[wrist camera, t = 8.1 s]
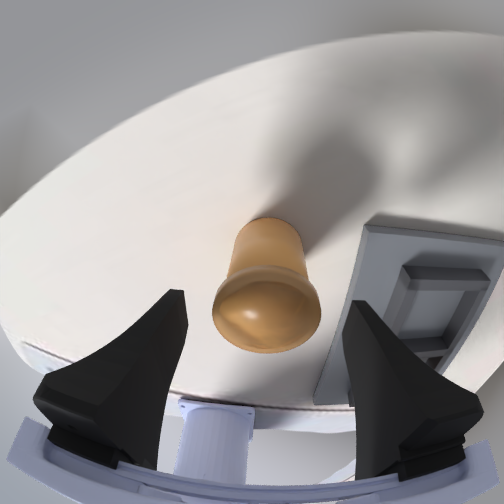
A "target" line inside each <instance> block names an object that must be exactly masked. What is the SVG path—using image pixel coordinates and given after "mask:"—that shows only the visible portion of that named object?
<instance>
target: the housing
mask: <svg viewBox="0 0 504 504" xmlns="http://www.w3.org/2000/svg"><path fill="white" fill-rule="evenodd" d="M503 268H504V241H498V240H491V239H484V238H477V237H469V236H462V235H454V234H446V233H437V232H429V231H420V230H411V229H401V228H392V227H381V226H371V225H364V227H363V232H362V236H361V241H360V245H359V249H358V254H357V258H356V262H355V266H354V270H353V274H352V278H351V282H350V285H349V289H348V293H347V296H346V300H345V303H344V307H343V310H342V314H341V317H340V320H339V324H338V327H337V330H336V333H335V336H334V339H333V342H332V346H331V349H330V352H329V354H328V357H327V360H326V363H325V366H324V369H323V372H322V374H321V377H320V380H319V383H318V385H317V388H316V390H315V393H314V396H313V402H314V405H335V404H349V406H350V407H355V404H354V398H353V392H352V388H351V383H350V379H349V374H348V370H347V366H346V361H345V357H344V352H343V343H342V331H343V328H344V325H345V322H346V318H347V315H348V312H349V309H350V306H351V302H352V300H365V301H366V302H367V303H368V304H369V305H370V306H371V307H372V308H373V310H374V311H375V312H376V313H377V314H378V315H379V317H380V318H381V319H382V320H383V321H384V322H385V324H386V325H387V326H388V327H389V328H390V329H391V330H392V332H393V333H394V334H395V335H396V336H397V337H398V338H399V339H400V340H401V341H402V342H403V343H404V344H405V345H406V346H407V347H408V348H409V349H410V350H411V351H412V352H413V353H414V354H415V355H416V356H418V357H419V358H420V359H421V360H422V361H423V362H425V363H426V364H427V365H428V366H430V367H431V368H432V369H434V370H435V371H436V372H438V373H439V374H441V375H442V374H443V373H444V372H445V370H446V369H447V367H448V366H449V365H450V363H451V362H452V360H453V359H454V357H455V356H456V354H457V353H458V351H459V350H460V348H461V347H462V345H463V344H464V342H465V340H466V339H467V337H468V336H469V334H470V332H471V331H472V329H473V327H474V325H475V324H476V322H477V320H478V318H479V317H480V315H481V313H482V311H483V309H484V307H485V305H486V304H487V302H488V300H489V298H490V296H491V294H492V292H493V290H494V287H495V285H496V283H497V281H498V279H499V277H500V274H501V272H502V270H503Z"/></svg>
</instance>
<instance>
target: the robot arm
mask: <svg viewBox="0 0 504 504" xmlns="http://www.w3.org/2000/svg"><path fill="white" fill-rule="evenodd" d="M187 330H188V318H187V311H186V304H185V297H184V290H175V289H170V290H169V291H167V292H166V293H165V294H164V295H163V296H162V297H161V298H160V299H159V300H158V301H157V302H156V303H155V304H154V305H153V306H152V307H151V308H150V309H149V310H148V311H147V312H146V313H145V314H144V315H143V316H142V317H141V318H140V319H139V320H138V321H136V322H135V323H134V324H133V325H132V326H131V327H129V328H128V329H127V330H126V331H125V332H124V333H122V334H121V335H120V336H118V337H117V338H116V339H114V340H113V341H111V342H110V343H109V344H107V345H106V346H104V347H102V348H101V349H99V350H97V351H96V352H94V353H92V354H91V355H89V356H87V357H85V358H83V359H81V360H79V361H77V362H75V363H73V364H71V365H69V366H66V367H64V368H61V369H58V370H56V371H53V372H50V373H47V374H46V375H45V376H44V378H43V380H42V382H41V384H40V386H39V387H38V389H37V391H36V393H35V395H34V396H33V401H34V404H35V405H36V407H37V408H38V409H39V410H40V411H41V412H42V413H43V414H44V415H45V417H46V418H47V419H48V420H49V421H50V422H52V424H53V426H52V428H51V430H50V429H49V428H48V427H46V426H44V425H43V424H41V423H39V422H37V421H35V420H33V419H31V418H29V417H27V416H26V417H25V418H24V420H23V423H22V425H21V427H20V429H19V431H18V433H17V435H16V438H15V440H14V442H13V445H12V447H11V449H10V451H9V454H8V456H7V461H8V462H9V463H11V464H12V465H13V466H15V467H16V468H18V469H19V470H21V471H22V472H24V473H25V474H27V475H28V476H30V477H32V478H33V479H35V480H36V481H38V482H40V483H42V484H43V485H45V486H47V487H48V488H50V489H52V490H54V491H56V492H57V493H59V494H61V495H63V496H65V497H67V498H69V499H71V500H73V501H75V502H77V503H79V504H302V503H318V502H329V501H338V500H343V501H339V502H337V503H336V504H463V503H465V502H467V501H469V500H471V499H473V498H475V497H477V496H479V495H481V494H482V493H484V492H486V491H488V490H490V489H491V488H493V487H495V486H497V485H498V484H499V483H500V482H499V477H498V474H497V469H496V466H495V462H494V458H493V455H492V452H491V449H490V445H489V442H488V440H487V439H485V440H483V441H480V442H478V443H475V444H473V445H471V446H468V447H467V448H465V449H463V446H462V444H463V443H465V437H464V434H465V433H466V432H467V431H469V430H470V429H471V428H472V427H473V426H474V425H475V424H476V423H477V422H478V421H479V420H480V419H481V418H482V416H483V413H484V411H483V408H482V406H481V403H480V401H479V398H478V396H477V395H476V394H474V393H472V392H470V391H468V390H466V389H464V388H462V387H460V386H458V385H456V384H455V383H453V382H451V381H450V380H448V379H447V378H445V377H444V376H442V375H441V374H439V373H438V372H436V371H435V370H434V369H432V368H431V367H430V366H428V365H427V364H426V363H425V362H423V361H422V360H421V359H420V358H419V357H418V356H416V355H415V354H414V353H413V352H412V351H411V350H410V349H409V348H408V347H407V346H406V345H405V344H404V343H403V342H402V341H401V340H400V339H399V338H398V337H397V336H396V335H395V334H394V333H393V332H392V330H391V329H390V328H389V327H388V326H387V325H386V324H385V322H384V321H383V320H382V319H381V318H380V317H379V315H378V314H377V313H376V312H375V311H374V310H373V308H372V307H371V306H370V305H369V304H368V303H367V302H366V301H365V300H352V302H351V306H350V309H349V312H348V315H347V318H346V322H345V325H344V328H343V331H342V343H343V352H344V357H345V361H346V366H347V370H348V374H349V379H350V383H351V388H352V392H353V398H354V404H355V417H356V438H357V440H356V443H357V445H356V471H355V481H348V482H340V483H330V484H317V485H299V486H298V485H295V486H267V485H246V484H245V481H246V470H247V458H248V457H247V456H248V445H249V442H251V441H252V437H253V427H254V417H255V408H254V407H248V406H235V405H224V404H215V403H206V402H199V401H191V400H185V399H179V400H178V405H179V408H180V411H181V414H182V416H183V419H184V427H183V431H182V436H181V440H180V445H179V449H178V454H177V459H176V463H175V468H174V473H173V475H172V474H168V473H163V472H159V471H157V459H158V449H159V441H160V433H161V427H162V421H163V415H164V410H165V405H166V400H167V395H168V391H169V388H170V384H171V382H172V379H173V376H174V373H175V370H176V367H177V364H178V361H179V359H180V356H181V353H182V350H183V347H184V344H185V339H186V334H187ZM346 499H347V500H346Z"/></svg>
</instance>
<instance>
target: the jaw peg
mask: <svg viewBox="0 0 504 504" xmlns="http://www.w3.org/2000/svg"><path fill="white" fill-rule="evenodd" d="M212 316H213V321H214V324H215V326H216V328H217V330H218V331H219V333H220V334H221V335H222V336H223V337H224V338H225V339H226V340H227V341H229V342H230V343H232V344H233V345H235V346H237V347H239V348H241V349H244V350H247V351H251V352H256V353H279V352H284V351H288V350H291V349H293V348H295V347H298V346H300V345H301V344H303V343H304V342H306V341H307V340H308V339H309V338H310V337H311V336H312V335H313V334H314V333H315V331H316V330H317V328H318V326H319V323H320V320H321V308H320V302H319V297H318V294H317V292H316V290H315V288H314V286H313V285H312V284H311V283H310V281H309V279H308V274H307V268H306V263H305V257H304V252H303V247H302V242H301V238H300V236H299V234H298V232H297V231H296V230H295V229H294V228H293V227H292V226H291V225H290V224H288V223H287V222H285V221H283V220H280V219H276V218H260V219H256V220H254V221H251V222H250V223H248V224H247V225H245V226H244V227H243V228H242V229H241V230H240V232H239V233H238V235H237V237H236V240H235V245H234V249H233V253H232V258H231V262H230V266H229V271H228V275H227V279H226V280H225V281H224V282H223V283H222V284H221V285H220V287H219V289H218V291H217V293H216V296H215V300H214V304H213V309H212Z"/></svg>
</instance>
